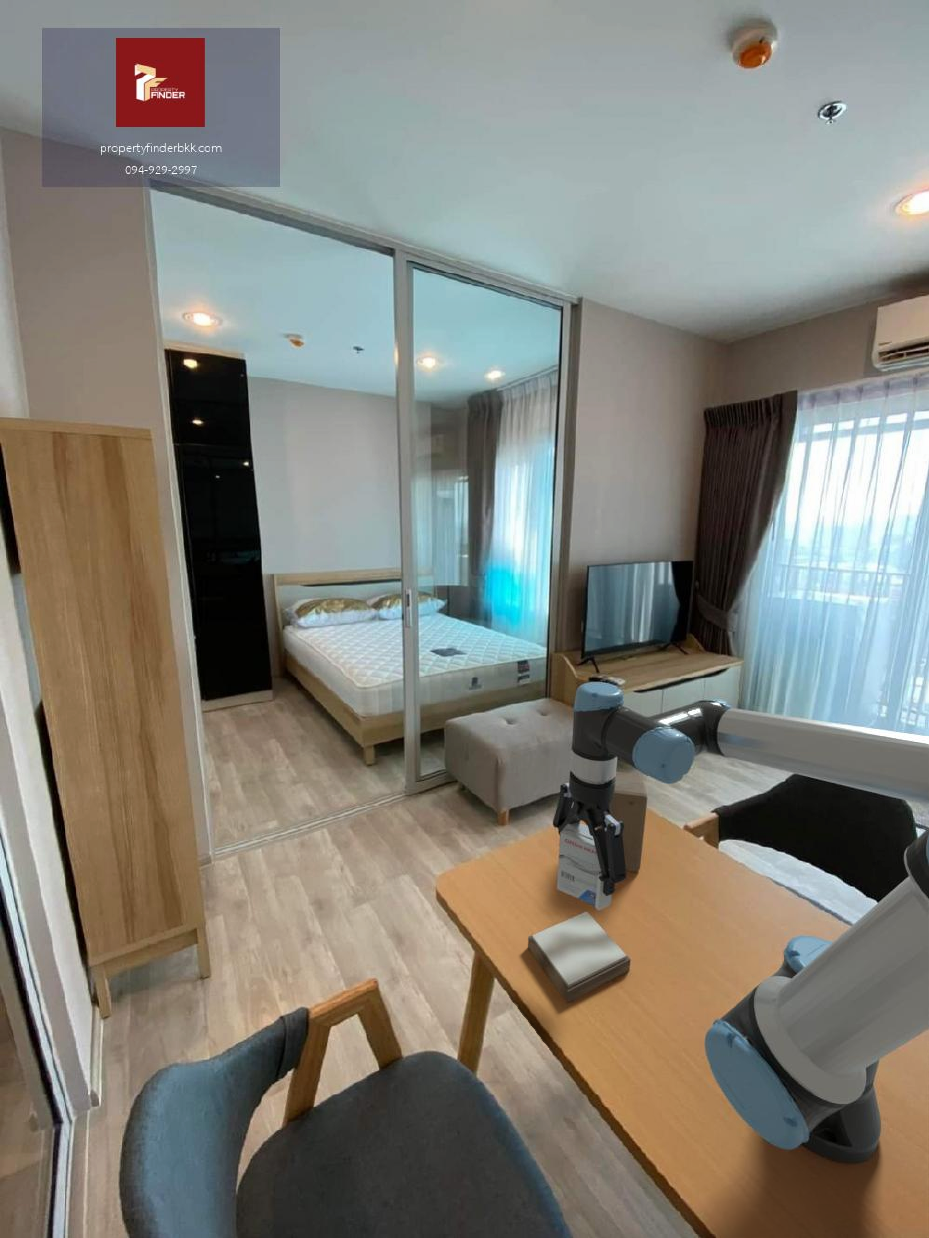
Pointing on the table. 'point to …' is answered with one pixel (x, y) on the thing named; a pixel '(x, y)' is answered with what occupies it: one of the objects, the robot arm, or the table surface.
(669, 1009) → the table surface
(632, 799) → the wooden block
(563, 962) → the stand
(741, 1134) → the table surface
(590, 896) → the ink box
